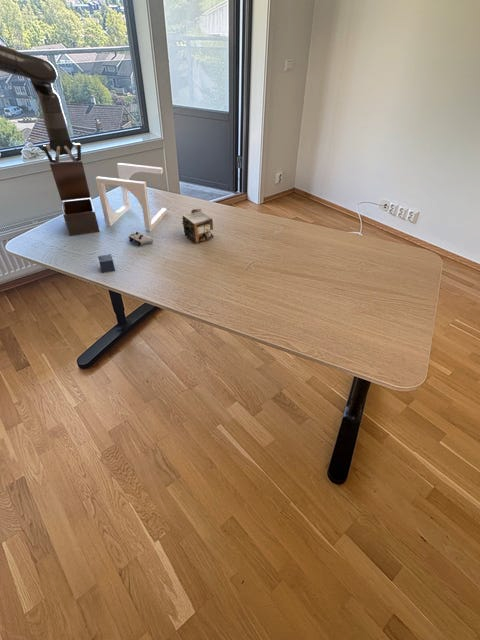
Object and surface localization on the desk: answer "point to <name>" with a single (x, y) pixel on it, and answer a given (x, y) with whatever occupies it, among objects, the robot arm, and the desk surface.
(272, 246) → the desk surface
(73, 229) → the storage box
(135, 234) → the game controller
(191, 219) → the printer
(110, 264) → the block
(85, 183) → the lid
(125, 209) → the white arched cube frame
